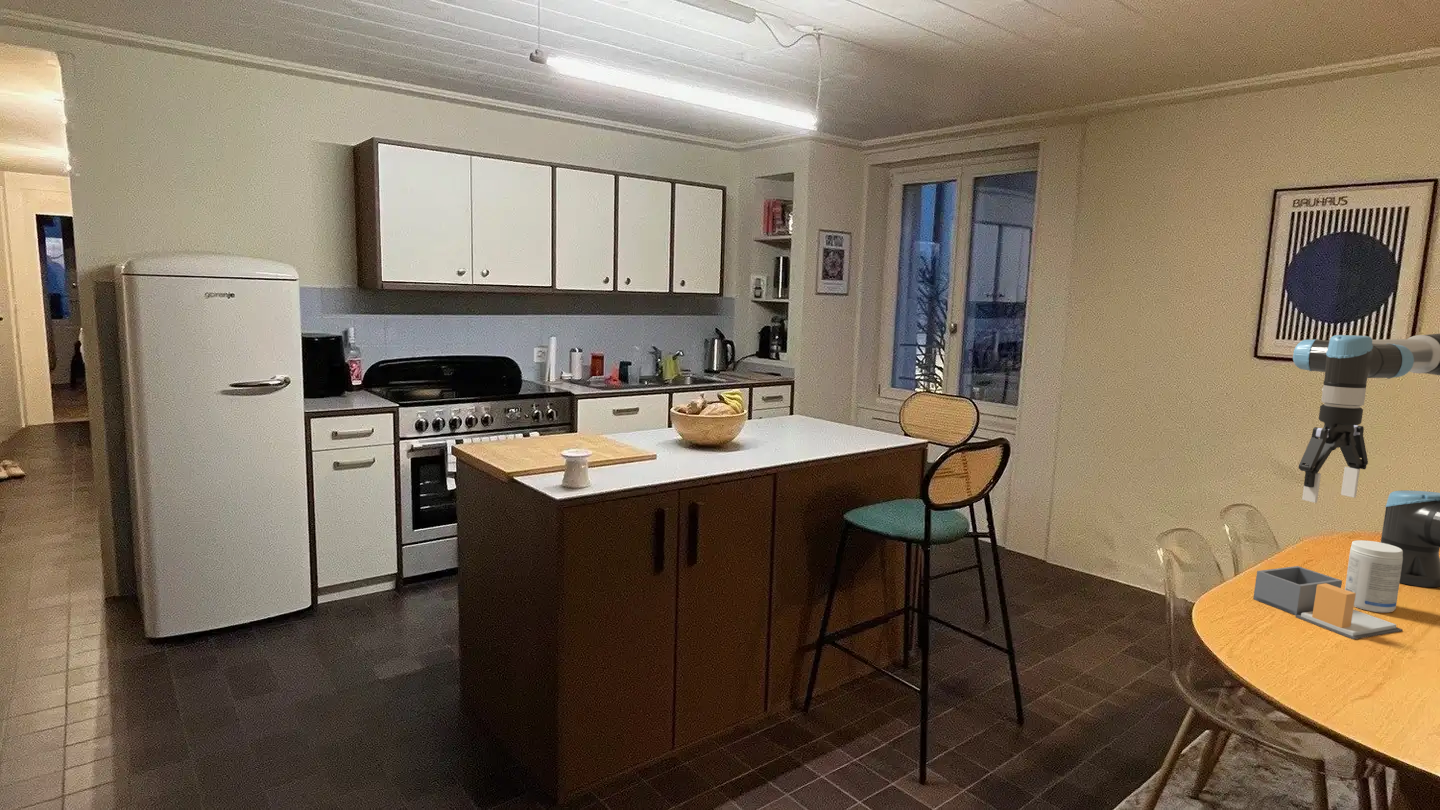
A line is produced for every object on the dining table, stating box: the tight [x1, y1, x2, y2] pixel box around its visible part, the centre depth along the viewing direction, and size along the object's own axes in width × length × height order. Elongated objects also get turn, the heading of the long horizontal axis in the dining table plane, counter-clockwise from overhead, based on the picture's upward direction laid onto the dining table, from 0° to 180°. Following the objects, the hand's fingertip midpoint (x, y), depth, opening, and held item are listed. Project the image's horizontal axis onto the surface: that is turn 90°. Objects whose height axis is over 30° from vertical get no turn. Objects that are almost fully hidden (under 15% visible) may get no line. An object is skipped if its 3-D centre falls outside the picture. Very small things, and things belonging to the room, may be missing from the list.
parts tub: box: [1252, 565, 1343, 616], centre depth 185 cm, size 14×10×7 cm
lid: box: [1301, 583, 1397, 636], centre depth 174 cm, size 15×11×8 cm
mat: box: [1294, 615, 1403, 640], centre depth 175 cm, size 16×12×1 cm
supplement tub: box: [1344, 539, 1403, 614], centre depth 185 cm, size 10×10×15 cm
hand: (1329, 498), depth 178 cm, fingers open, 13 cm apart
